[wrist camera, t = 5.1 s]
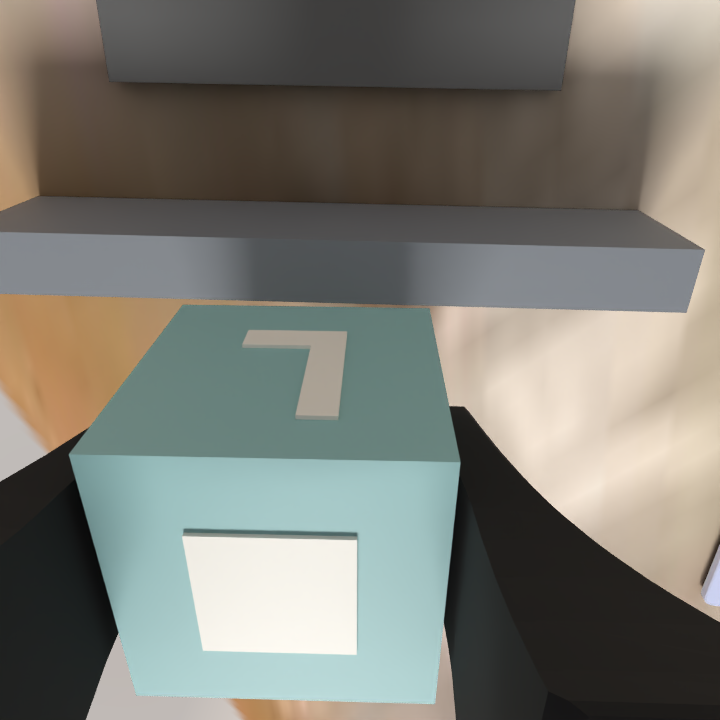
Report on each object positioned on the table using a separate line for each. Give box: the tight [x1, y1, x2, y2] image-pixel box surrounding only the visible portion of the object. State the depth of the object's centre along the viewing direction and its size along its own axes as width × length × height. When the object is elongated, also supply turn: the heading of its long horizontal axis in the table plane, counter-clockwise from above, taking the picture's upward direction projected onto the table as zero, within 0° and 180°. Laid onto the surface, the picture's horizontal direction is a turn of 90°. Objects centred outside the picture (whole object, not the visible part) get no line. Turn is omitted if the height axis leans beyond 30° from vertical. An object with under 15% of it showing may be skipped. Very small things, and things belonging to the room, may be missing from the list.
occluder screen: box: [0, 196, 705, 313], centre depth 16 cm, size 18×2×4 cm, turn 89°
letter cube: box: [69, 305, 460, 704], centre depth 11 cm, size 5×5×5 cm
